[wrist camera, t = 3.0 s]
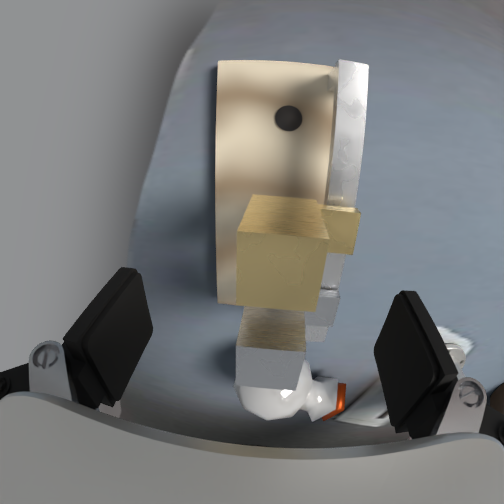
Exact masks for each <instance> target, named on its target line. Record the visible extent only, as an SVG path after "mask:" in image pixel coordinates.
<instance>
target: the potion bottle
mask: <svg viewBox="0 0 504 504" xmlns="http://www.w3.org/2000/svg"><path fill="white" fill-rule="evenodd" d="M233 387H234V390H235V392H236V394H237V396H238V398H239V400H240V402H241V404H242V406H243V408H244V409H245V410H247V411H249V412H251V413H253V414H255V415H257V416H259V417H261V418H263V419H265V420H274V419H281V418H288V417H292V416H293V415H294V414H295V413H296V412H297V411H298V410H299V409H301V410H305V411H307V412H308V414H309V416H310V418H311V420H312V422H313V421H315V420H317V419H319V418H321V417H322V419H323V421H325V420H327V419H329V418H331V417H333V416H334V415H336V414H338V413H340V412H342V411H343V410H344V405H345V392H346V384H344V383H338V379H335V378H326V377H316V378H315V379H314V380H312V376H311V370H310V365H309V363H308V362H307V361H306V360H305V359H304V362H303V366H302V369H301V373H300V377H299V380H298V384H297V388H296V391H293V390H278V389H267V388H256V387H247V386H239V385H236V377H235V382H234V386H233Z"/></svg>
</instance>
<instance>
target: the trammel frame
mask: <svg viewBox="0 0 504 504" xmlns="http://www.w3.org/2000/svg"><path fill="white" fill-rule="evenodd" d="M367 89H368V65H366V64H362V63H357V62H351V61H346V60H340V59H339V60H338V61H337V62H336V63H335V67H334V68H333V69H332V70H331V71H330V72H329V74H328V84H327V91H333V92H334V101H333V116H332V130H331V142H330V153H329V163H328V172H327V181H326V190H325V198H324V205H332V206H341V207H349V208H355V202H356V196H357V189H358V183H359V175H360V168H361V160H362V151H363V142H364V132H365V120H366V107H367ZM345 256H346V254H338V253H327V256H326V262H325V267H324V273H323V278H322V283H321V288H320V293H319V298H318V302H317V307H316V312H308V311H295V310H283V309H271V308H261V307H251V306H245V307H244V312H243V316H242V321H241V325H240V330H239V334H238V338H237V343H236V385H239V386H247V387H256V388H267V389H278V390H293V391H296V388H297V384H298V380H299V377H300V373H301V369H302V366H303V362H304V358H305V354H306V341H315V342H324V341H325V337H326V334H327V330H328V327H332V326H333V323H334V319H335V316H336V312H337V308H338V305H339V301H340V295H339V291H338V288H339V283H340V279H341V275H342V270H343V266H344V261H345Z"/></svg>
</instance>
